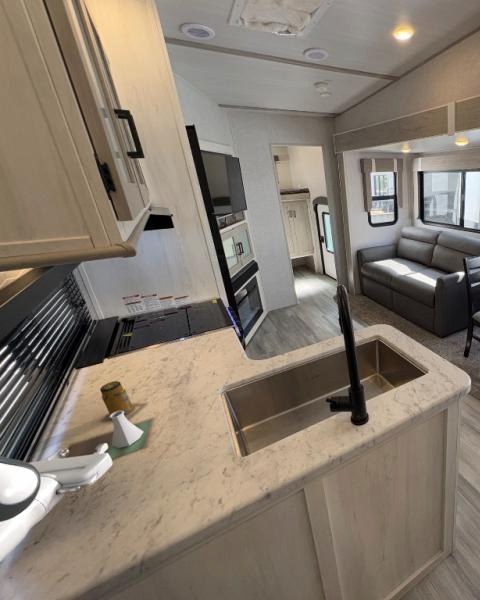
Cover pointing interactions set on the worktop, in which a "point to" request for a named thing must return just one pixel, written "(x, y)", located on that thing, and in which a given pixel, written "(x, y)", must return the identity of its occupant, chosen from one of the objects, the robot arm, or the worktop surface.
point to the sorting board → (110, 444)
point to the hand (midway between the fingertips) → (85, 447)
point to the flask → (123, 430)
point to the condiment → (116, 398)
